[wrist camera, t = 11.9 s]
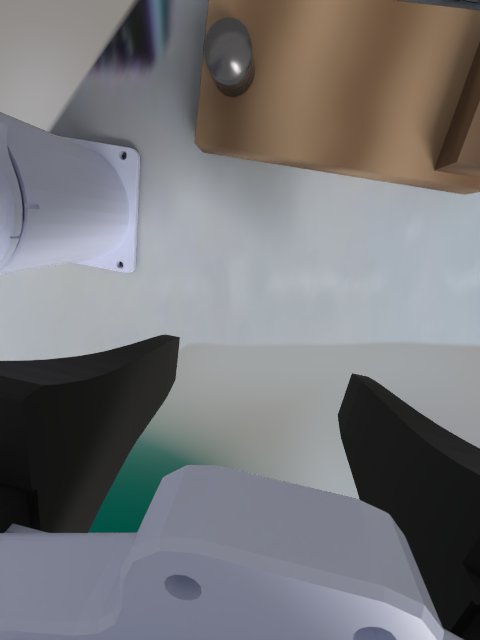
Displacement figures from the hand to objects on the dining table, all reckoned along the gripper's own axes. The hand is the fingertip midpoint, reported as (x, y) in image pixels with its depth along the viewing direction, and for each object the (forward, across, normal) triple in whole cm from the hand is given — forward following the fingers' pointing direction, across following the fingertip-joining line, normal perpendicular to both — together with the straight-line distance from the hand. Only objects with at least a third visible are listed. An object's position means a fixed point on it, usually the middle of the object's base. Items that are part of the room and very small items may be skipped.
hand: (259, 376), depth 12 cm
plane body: (+9, -2, -13) cm, 16 cm away
